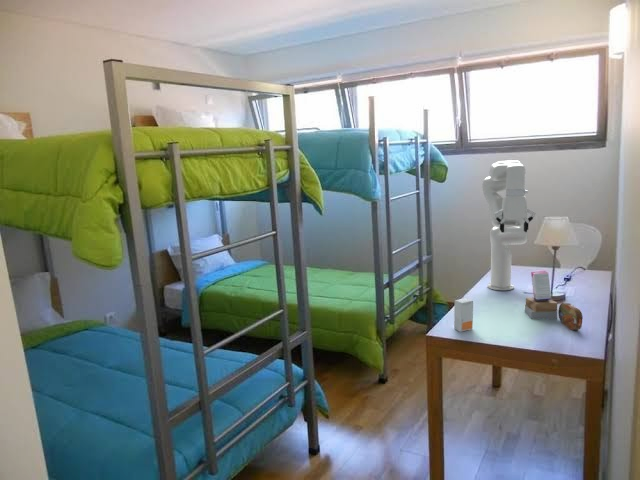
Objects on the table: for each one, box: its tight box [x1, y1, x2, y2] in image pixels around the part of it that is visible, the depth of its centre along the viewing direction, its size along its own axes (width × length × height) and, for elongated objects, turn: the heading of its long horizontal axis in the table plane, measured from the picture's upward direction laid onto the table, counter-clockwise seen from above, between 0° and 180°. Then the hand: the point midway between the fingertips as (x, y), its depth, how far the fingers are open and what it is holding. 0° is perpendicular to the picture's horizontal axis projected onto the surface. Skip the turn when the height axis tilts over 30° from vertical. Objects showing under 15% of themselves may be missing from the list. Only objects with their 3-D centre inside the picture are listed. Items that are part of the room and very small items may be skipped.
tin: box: [557, 302, 584, 331], centre depth 189 cm, size 15×3×8 cm, turn 178°
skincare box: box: [453, 297, 474, 333], centre depth 190 cm, size 6×4×12 cm
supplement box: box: [530, 270, 552, 301], centre depth 201 cm, size 6×6×12 cm
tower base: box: [524, 303, 558, 320], centre depth 203 cm, size 10×10×4 cm
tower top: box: [525, 296, 558, 312], centre depth 202 cm, size 9×9×4 cm
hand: (513, 231), depth 214 cm, fingers open, 9 cm apart
